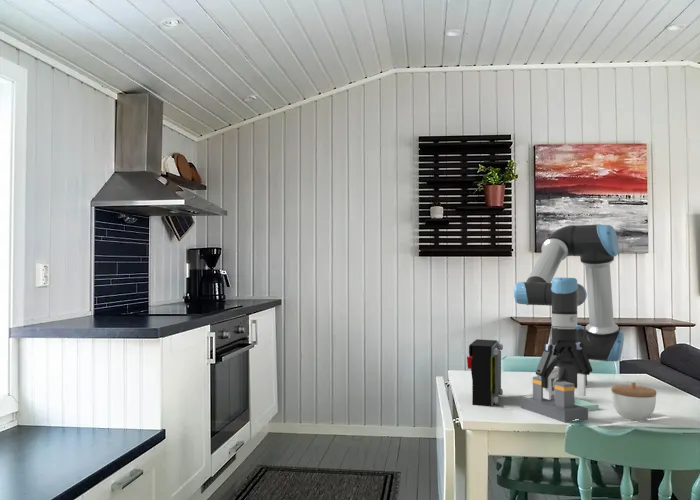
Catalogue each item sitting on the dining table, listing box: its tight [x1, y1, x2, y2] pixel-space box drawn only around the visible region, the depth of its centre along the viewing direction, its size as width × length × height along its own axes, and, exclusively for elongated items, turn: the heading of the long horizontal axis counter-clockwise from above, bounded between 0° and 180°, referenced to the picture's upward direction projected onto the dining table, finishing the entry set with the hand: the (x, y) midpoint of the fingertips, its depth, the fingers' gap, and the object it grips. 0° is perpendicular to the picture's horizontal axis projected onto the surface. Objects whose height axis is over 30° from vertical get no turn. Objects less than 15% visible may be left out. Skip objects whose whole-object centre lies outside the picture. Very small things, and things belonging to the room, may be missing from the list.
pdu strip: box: [520, 375, 589, 424], centre depth 188 cm, size 20×9×11 cm, turn 23°
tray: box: [574, 397, 600, 412], centre depth 197 cm, size 12×12×2 cm
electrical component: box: [466, 338, 504, 408], centre depth 208 cm, size 18×10×20 cm, turn 160°
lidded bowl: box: [610, 381, 657, 422], centre depth 185 cm, size 13×13×11 cm
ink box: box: [536, 366, 558, 399], centre depth 209 cm, size 8×5×12 cm, turn 144°
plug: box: [555, 381, 576, 409], centre depth 183 cm, size 4×4×10 cm
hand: (564, 397), depth 183 cm, fingers open, 13 cm apart
